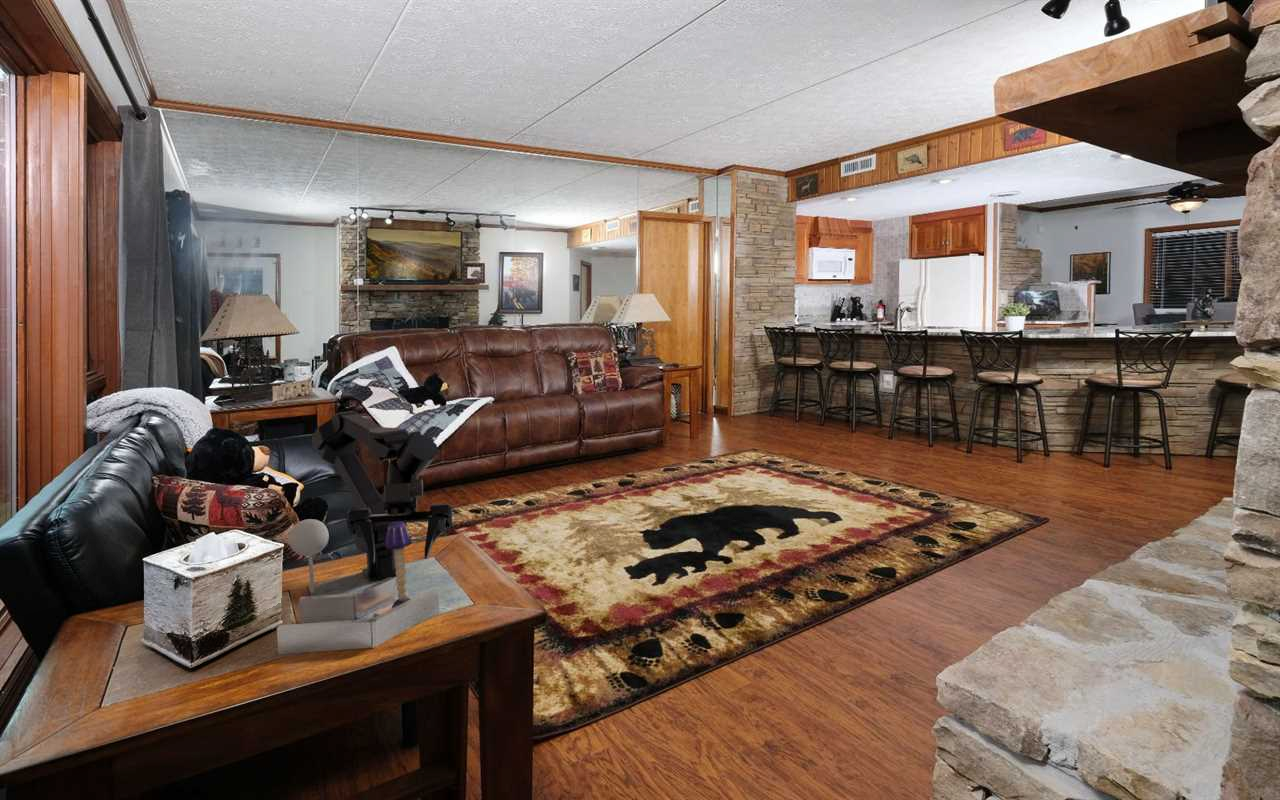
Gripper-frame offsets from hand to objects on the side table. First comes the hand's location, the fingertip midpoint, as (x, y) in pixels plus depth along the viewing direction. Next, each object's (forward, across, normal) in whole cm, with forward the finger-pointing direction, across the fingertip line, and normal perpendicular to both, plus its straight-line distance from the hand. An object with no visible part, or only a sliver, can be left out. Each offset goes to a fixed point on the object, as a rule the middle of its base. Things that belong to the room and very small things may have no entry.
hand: (399, 560), depth 125 cm
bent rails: (+10, -7, +5) cm, 13 cm away
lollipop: (-3, -18, +18) cm, 26 cm away
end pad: (+6, 0, +8) cm, 11 cm away
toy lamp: (+6, 0, +8) cm, 10 cm away
